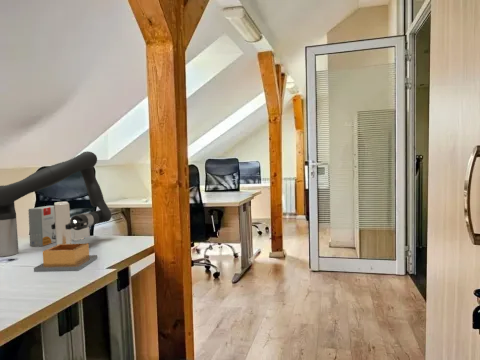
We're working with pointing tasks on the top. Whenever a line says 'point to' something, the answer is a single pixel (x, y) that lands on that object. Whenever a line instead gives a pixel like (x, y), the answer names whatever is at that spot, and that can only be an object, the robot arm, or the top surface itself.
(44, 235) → the hard drive box
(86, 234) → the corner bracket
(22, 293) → the top surface
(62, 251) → the dock
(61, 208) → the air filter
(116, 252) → the top surface
